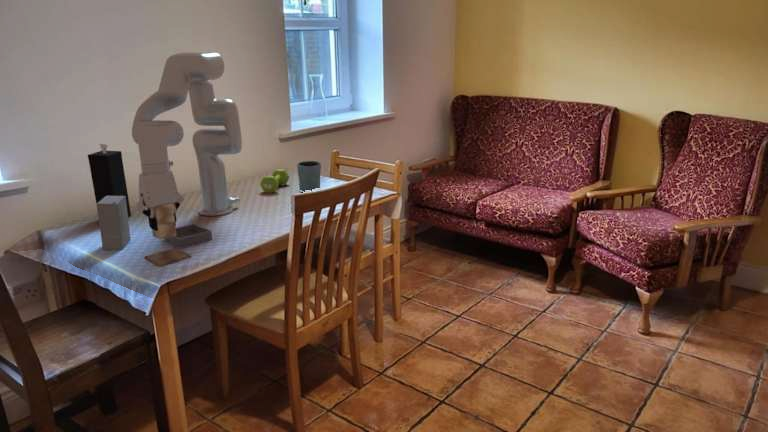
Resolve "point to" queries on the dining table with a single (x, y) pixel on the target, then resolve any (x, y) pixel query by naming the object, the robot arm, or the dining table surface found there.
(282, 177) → the dumbbell
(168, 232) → the beech block
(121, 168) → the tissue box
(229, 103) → the robot arm
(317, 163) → the grey cup
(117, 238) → the skincare box
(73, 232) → the dining table surface
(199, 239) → the bin
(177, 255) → the walnut board
